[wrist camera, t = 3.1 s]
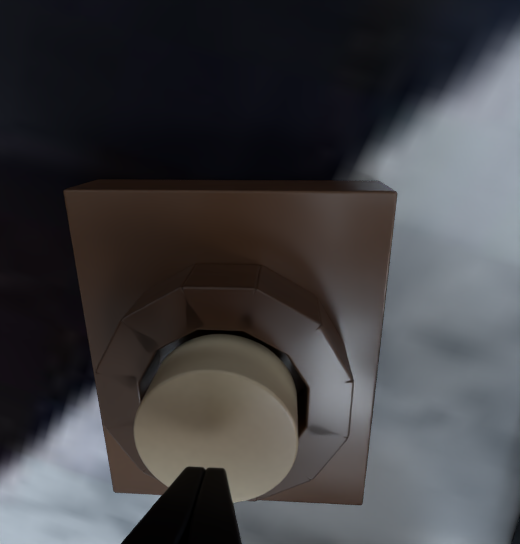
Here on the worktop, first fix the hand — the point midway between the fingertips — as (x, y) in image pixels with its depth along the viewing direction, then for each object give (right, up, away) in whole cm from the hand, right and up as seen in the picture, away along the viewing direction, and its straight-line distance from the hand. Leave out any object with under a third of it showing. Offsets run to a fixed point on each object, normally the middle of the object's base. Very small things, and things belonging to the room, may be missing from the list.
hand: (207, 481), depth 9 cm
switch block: (0, +2, +6) cm, 6 cm away
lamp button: (0, +1, +3) cm, 3 cm away
